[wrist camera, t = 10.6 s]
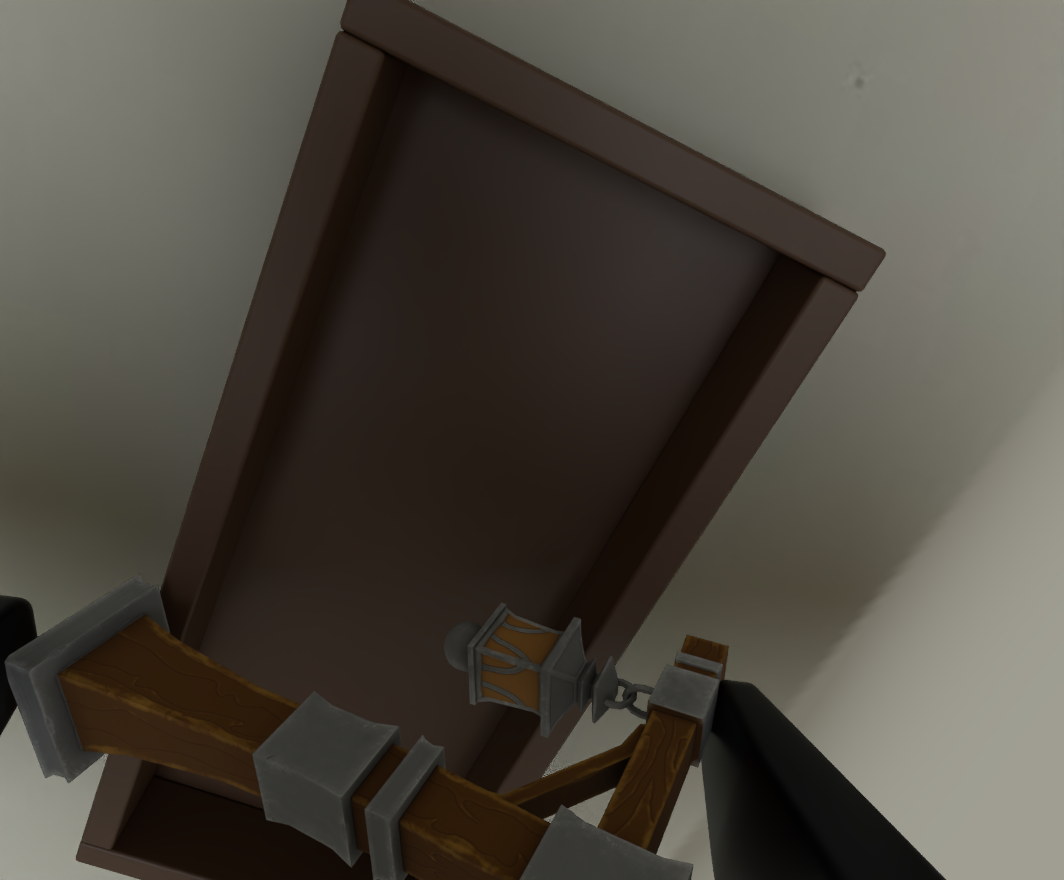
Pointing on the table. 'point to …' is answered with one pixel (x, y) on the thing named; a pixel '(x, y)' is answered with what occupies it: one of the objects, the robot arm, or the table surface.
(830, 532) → the table surface
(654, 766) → the wooden post with brackets
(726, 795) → the robot arm
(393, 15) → the walnut tray
